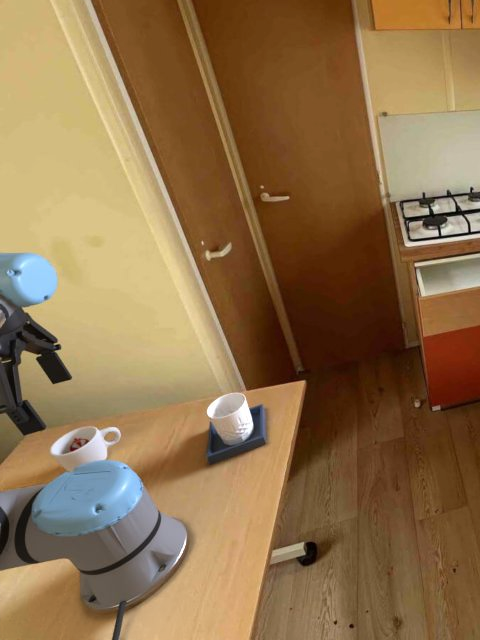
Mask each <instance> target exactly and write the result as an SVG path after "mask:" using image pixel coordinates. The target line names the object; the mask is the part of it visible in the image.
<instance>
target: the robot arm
mask: <svg viewBox="0 0 480 640" xmlns="http://www.w3.org/2000/svg"><path fill="white" fill-rule="evenodd" d="M57 288H58V275H57V271H56V269H55V267H54V266H53V264H52V263H50V261H48V260H47V258H45V257H44V256H42V255H39V254H37V253H33V252H0V415H3V414H6V415H7V417H8V418H9V419H10V420H11V422H12V424H14V425H15V426H16V428H17V429H18V430H19V432H20V433H21V434H22V435H23V437H25V436H28V435H31V434H34V433H38V432H41V431H45V430H46V429H47V424H46V423H45V422H44V420H43V419H42V418H41V417H40V415H39V414H38V413H37V411H36V409H35V408H34V407H33V405H32V404H31V402H30V401H29V400H28V399H23V394H22V386H21V380H20V379H21V378H20V374H19V372H20V371H19V366H20V365H21V364H22V357H21V356H22V354H23V352H27V353H30V354H34V355H37V356H36V358H35V360H36V362H37V364H38V365H39V367H40V368H41V369H42V371H43V372H44V374H45V375H46V376H47V378H48V380H49V381H50V382H51V384H52V385H56V384H60V383H64V382H68V381H71V380H72V379H73V375H72V374H71V373H70V372H69V369H68V368H67V367H66V365H65V363H64V362H63V360H62V359H61V357H60V356H59V354H58V353H57V351H60V350H62V345H61V344H60V343H58V342H59V340H58V338H57V337H56V336H55V335H54V334H52V333H51V332H50V331H49V330H47V329H46V328H44V327H43V325H40V324H39V323H38V322H37V321H35V320H34V319H33V318H32V316H31V315H30V313H29V312H25V310H24V308H29V307H33V306H37V305H39V304H42V303H45V302H46V301H48V300H50V299H51V298H52V297H53V296H54V294H55V292H56V290H57ZM189 546H190V534H189V531H188V528H187V527H186V526H185V525H184V522H182V521H181V520H180V519H178V518H176V517H173V516H170V515H168V514H166V513H164V512H162V511H160V510H159V508H158V507H157V505H156V503H155V502H154V500H153V498H152V497H151V495H150V493H149V491H148V490H147V488H146V486H145V485H144V484H143V481H142V479H141V477H139V475H138V474H137V472H135V471H133V469H132V468H131V467H130V466H129V465H128V464H127V463H124V462H122V461H119V460H114V459H105V460H99V461H93V462H89V463H86V464H82V465H80V466H77V467H75V468H74V470H73V471H72V472H68V471H65V472H62V473H61V474H60V475H58V476H56V477H55V478H53V479H52V480H51V481H49V482H48V483H44V484H37V485H31V486H25V487H19V488H14V489H13V488H12V489H6V490H1V491H0V572H3V571H7V570H11V569H15V568H20V567H27V566H31V565H37V564H41V563H47V562H51V561H52V562H53V561H57V560H62V559H63V560H69V562H70V563H71V564H72V565H73V566H74V567H75V568H76V570H78V575H79V577H78V578H79V593H80V598H81V600H82V601H83V604H84V605H86V607H88V609H90V610H91V611H92V612H94V613H96V614H102V615H103V614H105V615H106V614H114V613H117V614H116V619H115V624H114V626H113V627H114V628H113V632H112V638H111V640H120V636H121V631H122V626H123V620H124V615H125V610H128V609H130V608H132V607H134V606H136V605H138V604H140V603H141V602H143V601H145V600H147V599H148V598H149V597H151V596H152V595H154V594H155V593H156V592H157V591H158V590H160V589H161V588H162V587H163V586H164V585H165V584H166V583H167V582H168V581H169V580H170V579H171V578H172V577H173V575H174V574H175V573H176V572H177V570H178V569H179V568H180V566H181V565H182V563H183V561H184V559H185V557H186V556H187V553H188V551H189V548H190V547H189Z"/></svg>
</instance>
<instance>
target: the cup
mask: <svg viewBox="0 0 480 640" xmlns="http://www.w3.org/2000/svg"><path fill="white" fill-rule="evenodd" d="M110 433H114V434H115V437H114V438H112V439H111V440H106V439H105V437H106V436H107V434H110ZM121 437H122V435H121V431H120V429H119V428H118V427H115V426H108V427H105V428H103V429H98V428H97V427H96V426H93V425H92V426H91V425H89V426H81V427H79V428H75V429H73V430H70V431H69V432H67V433H65V434H64V435H61V436H60V437H58V439H56V440H55V441H54V442H53V444H52V445H51V446H50V448H49V455H50V456H51V457H52V459H54V460H55V462H57V463H58V464H59V465H60V466H61V467H62V468H63V469H64V470H65V471H66V472H72V471H73V470H74V468H75V467H77V466H80V465H82V464H86V463H89V462H93V461H99V460H107V457H108V449H109V448H110V447H112V446H114V445H116V444H117V443H119V441H120V440H121Z"/></svg>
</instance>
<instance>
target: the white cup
mask: <svg viewBox="0 0 480 640" xmlns="http://www.w3.org/2000/svg"><path fill="white" fill-rule="evenodd" d="M249 408H250V407H249V404H248V401H247V398H246V396H245V395H244V393H241V392H230V393H226V394H223V395H221V396H219V397H217V398H216V399H215V400H213V401H212V402H211V403H210V404H209V405H208V406H207V409H206V415H207V418H208V419H209V422H210V421H211V423H212V424H213V426H214V428H215V429H216V431H217V433H218V435H219V436H220V437H221V438H222V440H223V442H224V444H226V445H229V446H231V445H237V444H240V443H242V442H244V441H245V440H247V439H248V438H249V437H250V436H251V435H252V434H253V432H254V425H253V422H252V417H251V414H250V410H249Z"/></svg>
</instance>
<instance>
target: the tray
mask: <svg viewBox="0 0 480 640" xmlns="http://www.w3.org/2000/svg"><path fill="white" fill-rule="evenodd" d="M249 410H250V414H251V417H252V422H253V425H254V432H253V434H252V435H251V436H250V437H249V438H248V439H247V440H245V441H244V442H242V443H240V444H237V445H231V446H229V445H226V444H224V442H223V440H222V438H221V437H220V436H219V435H218V433H217V431H216V429H215V428H214V426H213V424H212V423H211V421H210V420H209V428H208V434H207V435H208V437H207V443H206V444H207V446H206V455H205V458H206V460H207V462H208V465H212V464H215V463H218V462H221V461H223V460H226V459H228V458H231V457H235V456H237V455H240V454H242V453H245V452H247V451H251V450H253V449H257V448H259V447H261V446H264V445H267V429H266V428H267V425H266V409H265V407H264V404H263V403H261V404H258V405H255V406H252V407H249Z"/></svg>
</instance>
